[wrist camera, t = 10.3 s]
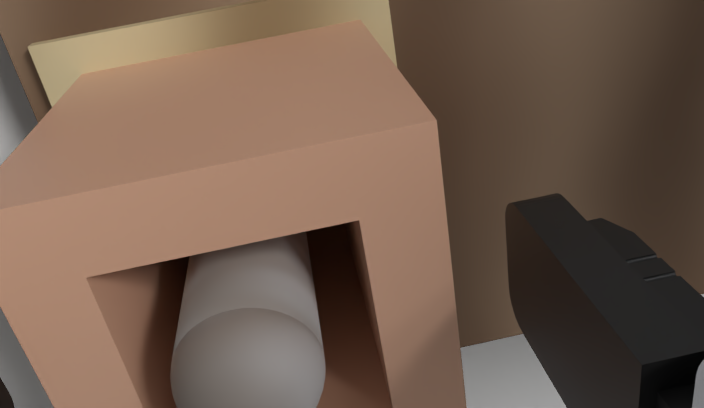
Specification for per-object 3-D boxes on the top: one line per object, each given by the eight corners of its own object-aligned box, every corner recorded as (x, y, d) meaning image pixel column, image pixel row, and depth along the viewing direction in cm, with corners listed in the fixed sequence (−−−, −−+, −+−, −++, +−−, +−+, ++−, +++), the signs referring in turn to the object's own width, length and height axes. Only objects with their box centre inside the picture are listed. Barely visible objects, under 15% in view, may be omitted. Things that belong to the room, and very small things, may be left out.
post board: (800, -274, 13) (1686, -519, 5) (725, 253, 19) (1066, 523, 11) (-32, -124, 12) (-583, -127, 4) (168, 375, 18) (101, 762, 10)
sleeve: (360, 19, 13) (436, 119, 7) (395, 251, 15) (470, 448, 10) (82, 74, 12) (-47, 219, 7) (166, 300, 15) (119, 529, 10)
